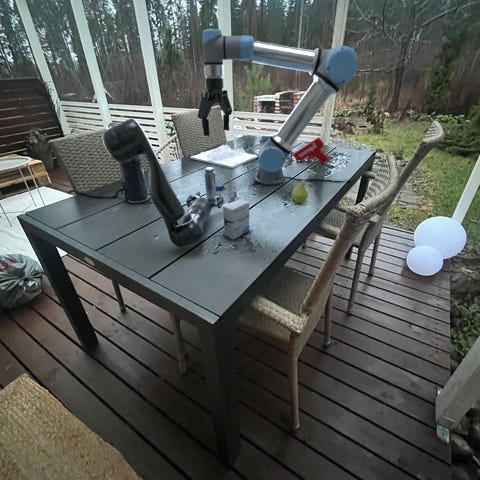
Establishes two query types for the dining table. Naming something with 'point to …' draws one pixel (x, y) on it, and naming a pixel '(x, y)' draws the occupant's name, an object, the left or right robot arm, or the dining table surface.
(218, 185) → the lid
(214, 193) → the grey capped tube
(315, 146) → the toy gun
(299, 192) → the fruit
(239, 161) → the relief map
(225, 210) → the ink box
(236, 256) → the dining table surface
